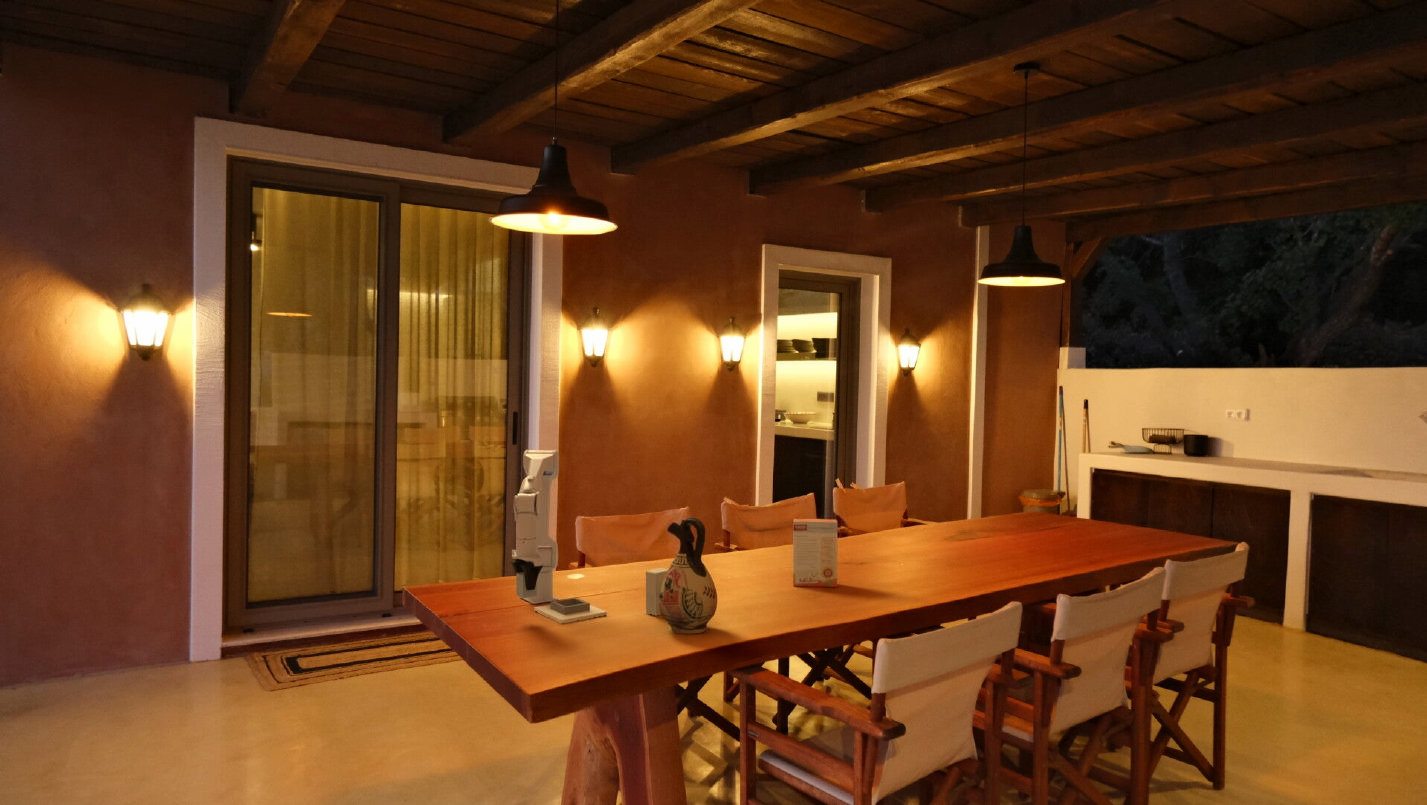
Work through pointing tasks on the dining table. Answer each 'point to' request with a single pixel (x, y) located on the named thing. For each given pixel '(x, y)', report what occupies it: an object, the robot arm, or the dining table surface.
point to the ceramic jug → (688, 583)
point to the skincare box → (654, 590)
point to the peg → (523, 587)
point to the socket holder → (569, 610)
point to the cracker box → (815, 552)
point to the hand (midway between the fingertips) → (526, 588)
